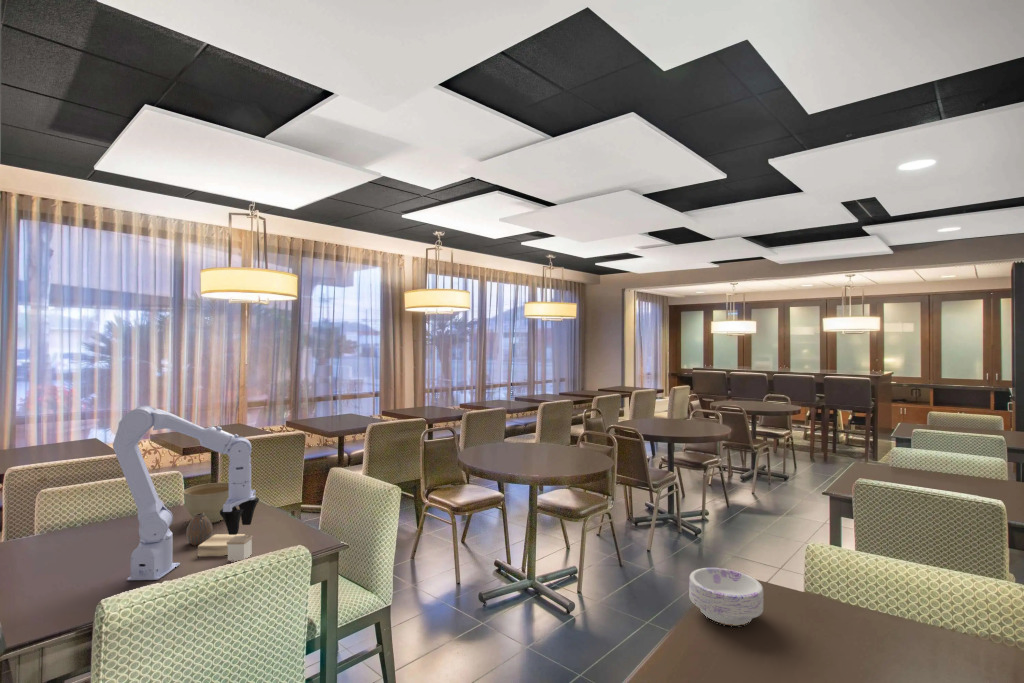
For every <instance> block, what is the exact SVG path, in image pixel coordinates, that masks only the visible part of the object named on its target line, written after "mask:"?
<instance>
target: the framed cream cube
mask: <svg viewBox="0 0 1024 683" xmlns="http://www.w3.org/2000/svg"><path fill="white" fill-rule="evenodd" d="M252 540H253V535H245V536H235V537H233V538H232V539H230V540H229V541H228V542H227V544H228V556H227V561H228V560H232V559H233V560H234V561H231V562H230V563H232V562H234V563H235V561H238V560H242V559H245V558H248V557H249V558H250V557H251V556H252V555H253V551H252V550H253V549H252V547H253V545H252V543H253V541H252ZM251 554H252V555H251ZM250 555H251V556H250ZM249 558H248V559H249Z"/></svg>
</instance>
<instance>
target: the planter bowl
mask: <svg viewBox="0 0 1024 683" xmlns="http://www.w3.org/2000/svg"><path fill="white" fill-rule="evenodd" d="M183 496H184V497H183V498H184V500H183V501H184V506H185V508H186V510H187V512H188V514H189V515H190V516H191V517H192V519H193V518H194V516H195V514H197V513H204V514H205V516H206V517H207V518H208V519H209V520H210V521H211V523H212V524H214V523H217V522H221V521H224V519H223V517H222V516H221V515H220V510H222V509H223V505H224V504H225V503H226V501H227V499H228V498H229V482H213V483H212V482H211V483H203V484H198V485H195V486H191V487H189V488H185V489H184V490H183ZM220 520H221V521H220Z"/></svg>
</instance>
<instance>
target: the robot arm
mask: <svg viewBox="0 0 1024 683" xmlns="http://www.w3.org/2000/svg"><path fill="white" fill-rule="evenodd" d="M151 428H152V431H157V430H159V431H160V430H165V429H167V430H172V431H174V432H177V433H180V434H183V435H186V436H188V437H192V438H194V439H197V440H198V441H199V445H200V446H201V447H204V448H206V449H209V450H211V451H213V452H216V453H219V454H221V455H227V456H228V458H229V465H228V483H229V498H228V499H227V501H226V503H225V504H224V505H223V509H222V510H220V515H221V516H222V517H223V521H224V524H225V526H226V529H227V532H228V533H227V534H229V535H237V534H239V530H240V521H241V524H242V526H250V525H252V521H253V516H254V513H255V509H256V507H257V505H258V503H259V501H260V498H259V497H256V496H257V495H256V489H252V463H251V462H252V457H251V454H252V443H251V441H250V440H249V439H247V438H246V437H244V436H240V435H239V434H237V433H234V434H232V433H230V432H228V431H225V430H222V429H223V428H222V427H221V426H218V425H217V426H216V427H215V426H209V427H202V426H200V425H198V424H196V423H194V422H191V421H189V420H187V419H185V418H182V417H180V416H178V415H176V414H175V413H174V414H173V413H171V412H169V411H167V410H164V409H160V408H155V407H153V406H151V405H145V404H144V405H141V406H138V407H136V408H134V409H132V410H129V411H128V412H127V413H126V414H124V416H123V417H122V418H121V420H120V421H119V422H118V428H117V430H116V433H115V436H114V439H113V442H112V449H113V451H114V454H115V456H116V459H117V460H118V463H119V467H120V468H121V471H122V473H123V476H124V478H125V481H126V483H127V487H128V488H129V491H130V494H131V496H132V498H133V500H134V504H135V506H136V509H137V520H138V523H139V527H138V535H139V543H138V546H137V547H136V548H135V549H134V550H133V551H132V552H131V555H130V575H129V576H128V577H127V579H126V580H127V581H158V580H160V579H162V578H163V577H164V576H166V575H167V574H168V573H170V572H171V571H173V570H174V569H176V568H177V567H179V566H180V565H181V562H173V556H174V555H173V546H174V545H173V543H174V542H173V537H174V536H173V535H174V534H173V532H172V531H171V529H170V527H171V525H172V524H173V521H174V515H173V513H172V511H170V510H169V509H168V508H167V507H166V506H165V504H164V503H165V502H164V501H163V500H161V498H160V497H159V495H158V493H157V490H156V487H155V485H154V482H153V480H152V478H151V474H150V473H149V469H148V467H147V464H146V462H145V460H144V457H143V455H142V452H141V449H140V447H139V443H140V441H141V440H142V439H143V437H144V436H145V434H146V432H148V431H149V430H150V429H151ZM237 507H238V508H239V509H238V508H237ZM175 567H176V568H175Z"/></svg>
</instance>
